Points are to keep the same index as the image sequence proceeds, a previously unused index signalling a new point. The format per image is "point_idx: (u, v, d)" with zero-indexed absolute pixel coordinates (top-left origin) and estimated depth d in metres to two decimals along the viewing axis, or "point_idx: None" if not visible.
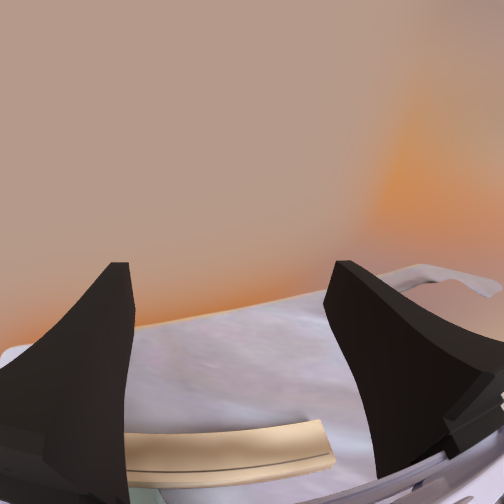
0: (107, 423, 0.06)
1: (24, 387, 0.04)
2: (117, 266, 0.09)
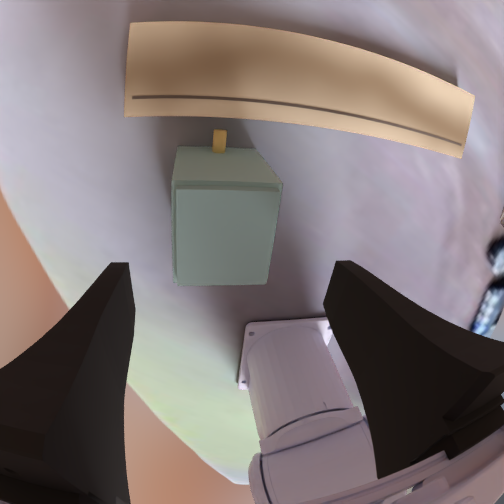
0: (107, 423, 0.06)
1: (23, 387, 0.04)
2: (117, 266, 0.09)
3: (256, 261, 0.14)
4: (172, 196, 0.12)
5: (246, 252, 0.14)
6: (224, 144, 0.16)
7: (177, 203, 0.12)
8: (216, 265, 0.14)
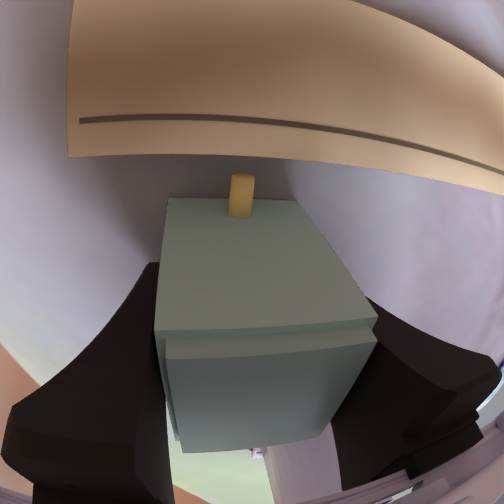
0: (160, 425, 0.06)
1: (89, 396, 0.04)
2: (157, 266, 0.09)
3: (311, 422, 0.07)
4: (160, 354, 0.06)
5: (298, 417, 0.07)
6: (250, 201, 0.09)
7: (172, 377, 0.05)
8: (246, 434, 0.07)
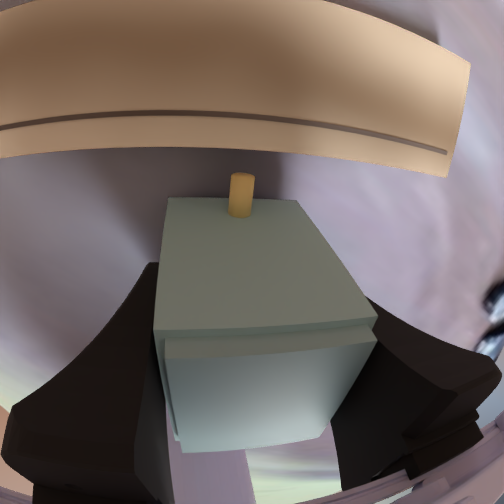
0: (160, 425, 0.06)
1: (88, 396, 0.04)
2: (157, 266, 0.09)
3: (311, 422, 0.07)
4: (159, 354, 0.06)
5: (297, 417, 0.07)
6: (250, 201, 0.09)
7: (171, 377, 0.05)
8: (246, 434, 0.07)
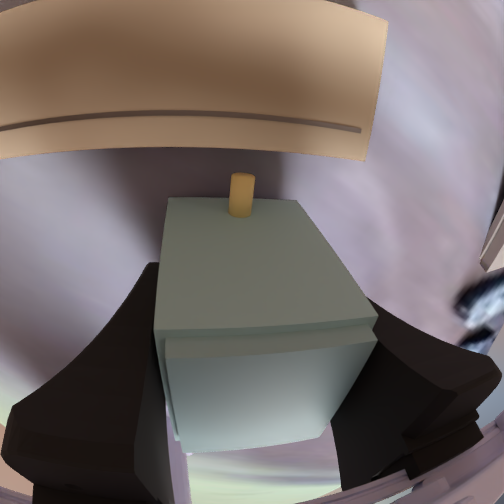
0: (160, 425, 0.06)
1: (89, 396, 0.04)
2: (157, 266, 0.09)
3: (312, 422, 0.07)
4: (159, 354, 0.06)
5: (298, 417, 0.07)
6: (250, 201, 0.09)
7: (171, 377, 0.05)
8: (246, 434, 0.07)
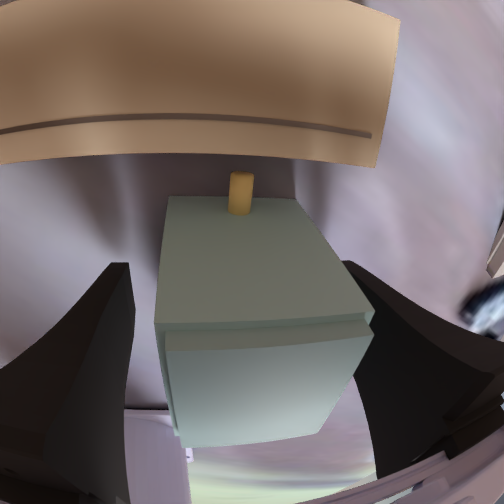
0: (107, 423, 0.06)
1: (24, 388, 0.04)
2: (117, 266, 0.09)
3: (310, 417, 0.08)
4: (159, 347, 0.06)
5: (296, 412, 0.07)
6: (249, 199, 0.09)
7: (171, 370, 0.05)
8: (245, 429, 0.07)
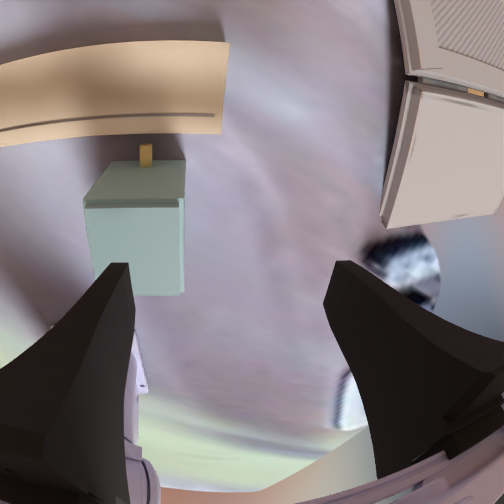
0: (107, 423, 0.06)
1: (24, 388, 0.04)
2: (117, 266, 0.09)
3: (166, 273, 0.14)
4: (85, 214, 0.12)
5: (155, 265, 0.14)
6: (149, 158, 0.16)
7: (86, 221, 0.12)
8: None
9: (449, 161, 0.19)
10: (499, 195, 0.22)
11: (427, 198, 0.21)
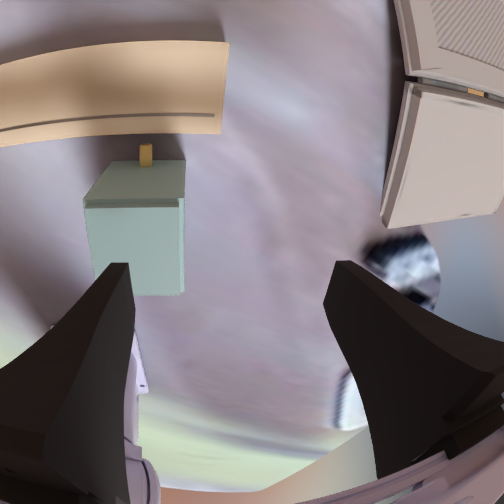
0: (107, 423, 0.06)
1: (24, 388, 0.04)
2: (117, 266, 0.09)
3: (166, 273, 0.14)
4: (85, 214, 0.12)
5: (155, 265, 0.14)
6: (149, 158, 0.16)
7: (86, 221, 0.12)
8: None
9: (449, 161, 0.19)
10: (499, 195, 0.22)
11: (427, 198, 0.21)
